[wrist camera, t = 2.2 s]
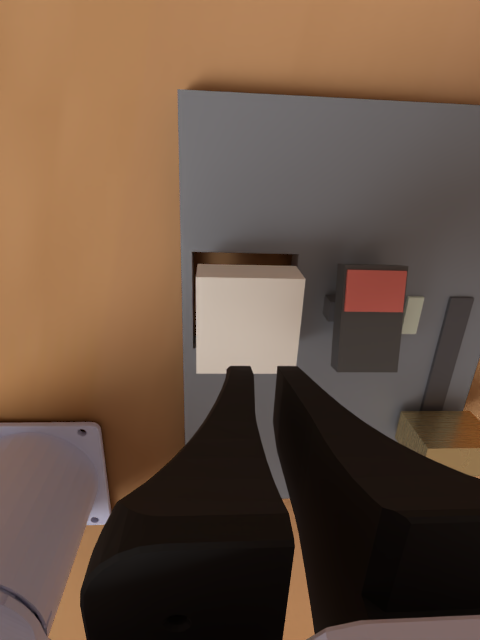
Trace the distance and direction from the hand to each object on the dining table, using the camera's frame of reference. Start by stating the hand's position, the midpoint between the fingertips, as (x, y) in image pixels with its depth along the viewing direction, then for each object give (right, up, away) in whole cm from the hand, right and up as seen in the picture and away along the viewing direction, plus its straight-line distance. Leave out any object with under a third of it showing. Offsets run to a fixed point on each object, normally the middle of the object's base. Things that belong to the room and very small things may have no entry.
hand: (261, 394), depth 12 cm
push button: (0, +3, +6) cm, 7 cm away
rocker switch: (+5, +2, +6) cm, 8 cm away
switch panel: (+4, +2, +10) cm, 11 cm away
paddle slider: (+10, -4, +10) cm, 15 cm away
